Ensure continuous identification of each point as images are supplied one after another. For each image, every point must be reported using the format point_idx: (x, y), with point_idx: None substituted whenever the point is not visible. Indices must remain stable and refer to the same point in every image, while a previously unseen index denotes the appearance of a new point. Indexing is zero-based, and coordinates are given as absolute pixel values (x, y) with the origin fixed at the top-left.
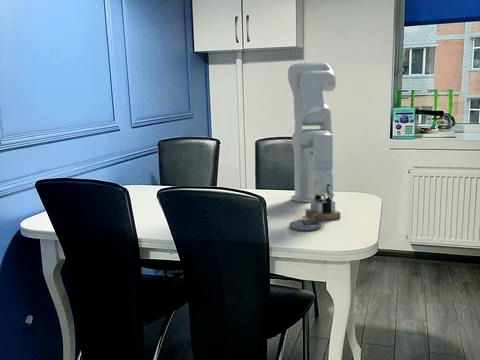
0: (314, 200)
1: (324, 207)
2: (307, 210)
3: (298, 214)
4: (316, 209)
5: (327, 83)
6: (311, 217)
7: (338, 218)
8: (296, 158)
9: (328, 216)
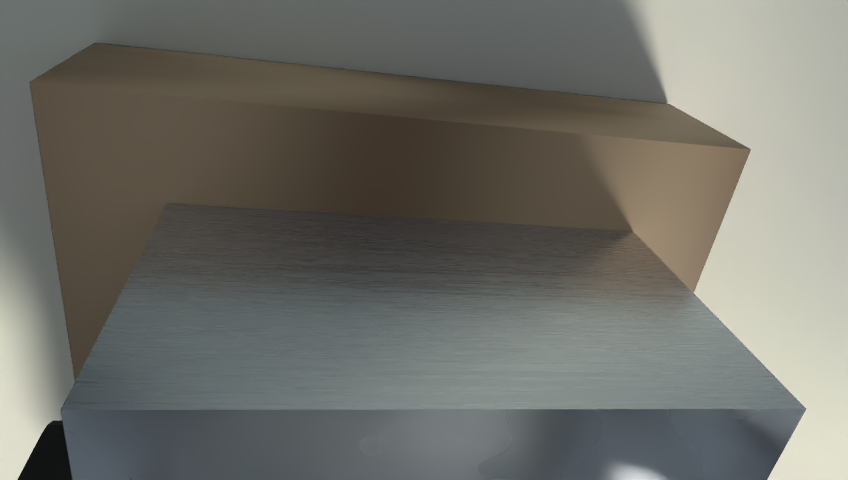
0: (622, 469)
1: None
2: (640, 137)
3: (818, 2)
4: (282, 254)
5: None
6: (379, 79)
7: None
8: None
9: None
